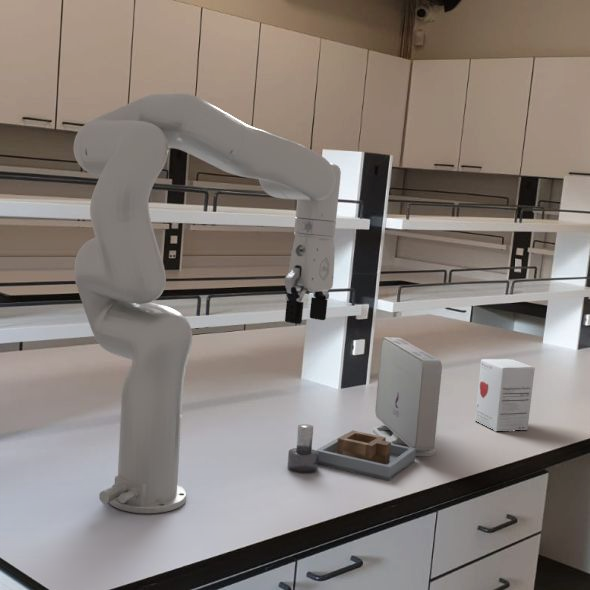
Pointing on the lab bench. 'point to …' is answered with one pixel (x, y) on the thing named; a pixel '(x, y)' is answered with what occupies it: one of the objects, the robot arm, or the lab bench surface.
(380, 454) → the collar
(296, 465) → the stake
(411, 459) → the tray
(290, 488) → the lab bench surface
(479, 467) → the lab bench surface
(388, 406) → the network device
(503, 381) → the supplement box
